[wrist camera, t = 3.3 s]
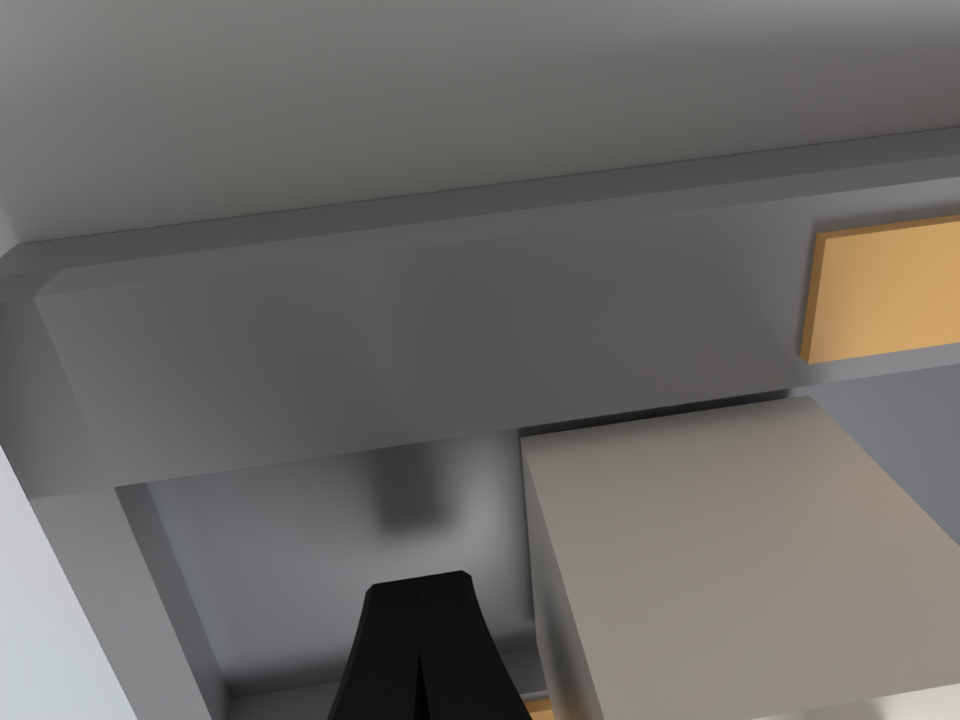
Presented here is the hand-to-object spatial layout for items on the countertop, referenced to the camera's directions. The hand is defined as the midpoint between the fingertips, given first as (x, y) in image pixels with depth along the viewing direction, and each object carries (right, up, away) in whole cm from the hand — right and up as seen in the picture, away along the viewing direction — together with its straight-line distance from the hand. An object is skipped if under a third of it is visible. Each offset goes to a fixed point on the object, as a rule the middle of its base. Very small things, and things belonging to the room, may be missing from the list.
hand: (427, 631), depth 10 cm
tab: (+3, +1, +1) cm, 4 cm away
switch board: (+4, -4, +6) cm, 8 cm away
